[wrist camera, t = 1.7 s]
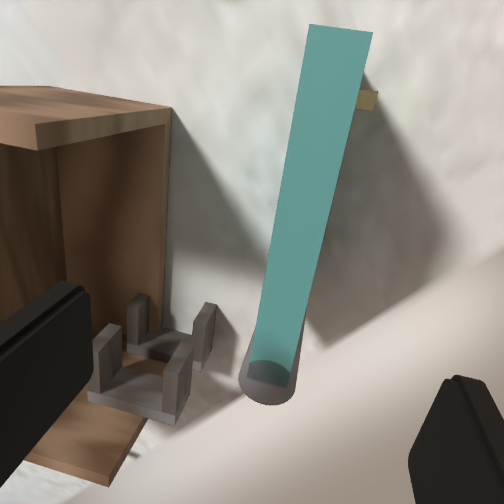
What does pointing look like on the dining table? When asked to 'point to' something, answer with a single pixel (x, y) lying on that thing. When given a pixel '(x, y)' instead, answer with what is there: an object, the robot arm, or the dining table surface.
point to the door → (305, 205)
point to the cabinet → (96, 261)
